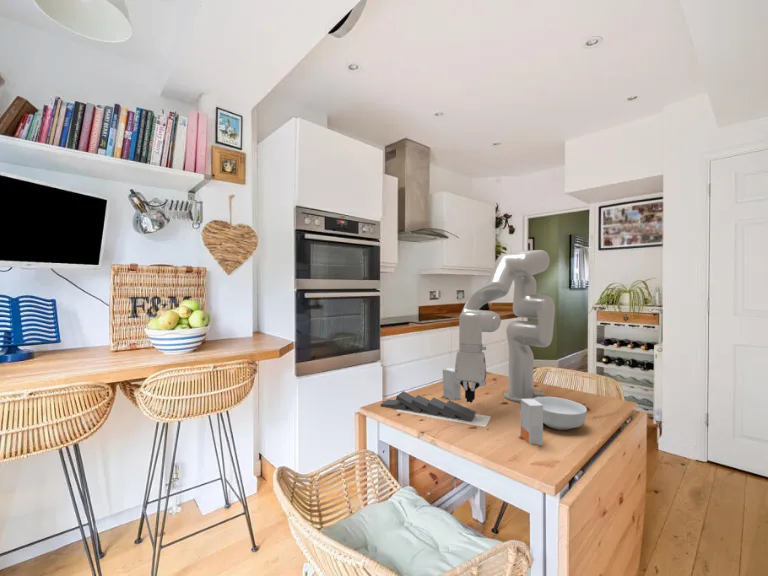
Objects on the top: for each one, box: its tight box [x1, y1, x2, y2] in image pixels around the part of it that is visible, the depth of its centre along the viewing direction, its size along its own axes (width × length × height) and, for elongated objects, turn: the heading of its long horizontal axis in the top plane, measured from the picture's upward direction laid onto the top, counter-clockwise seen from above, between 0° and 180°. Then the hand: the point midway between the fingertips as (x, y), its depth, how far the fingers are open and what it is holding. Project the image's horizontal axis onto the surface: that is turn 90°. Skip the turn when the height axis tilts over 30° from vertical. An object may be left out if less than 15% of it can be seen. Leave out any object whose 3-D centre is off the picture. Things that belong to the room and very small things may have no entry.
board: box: [395, 407, 492, 428], centre depth 128 cm, size 32×10×1 cm, turn 64°
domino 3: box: [411, 394, 440, 416], centre depth 131 cm, size 2×6×10 cm
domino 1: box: [380, 399, 408, 410], centre depth 136 cm, size 2×6×10 cm
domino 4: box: [427, 397, 456, 419], centre depth 128 cm, size 2×6×10 cm
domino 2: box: [395, 390, 423, 413], centre depth 133 cm, size 2×6×10 cm
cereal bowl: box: [534, 396, 588, 431], centre depth 120 cm, size 17×17×7 cm
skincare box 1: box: [442, 367, 462, 401], centre depth 146 cm, size 6×4×12 cm
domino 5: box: [443, 399, 477, 422], centre depth 125 cm, size 2×6×10 cm
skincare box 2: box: [520, 399, 544, 446], centre depth 108 cm, size 6×4×12 cm
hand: (469, 401), depth 124 cm, fingers closed
